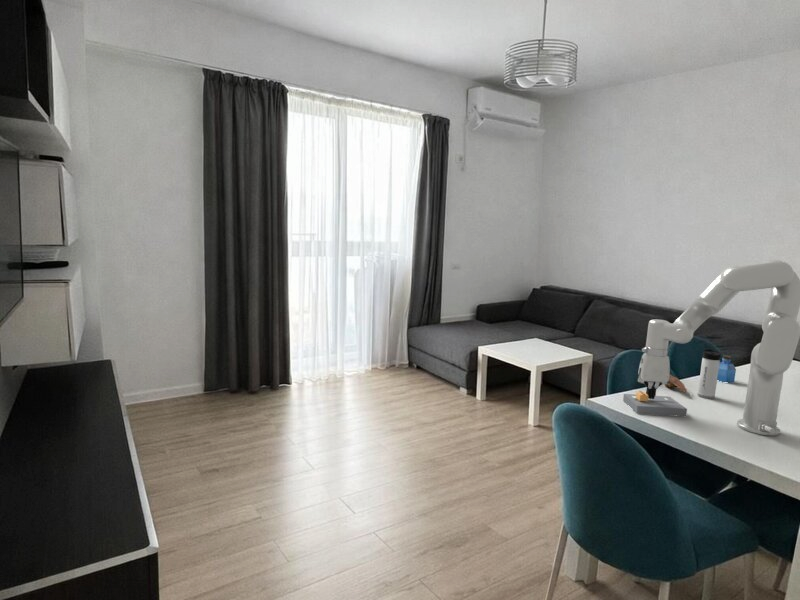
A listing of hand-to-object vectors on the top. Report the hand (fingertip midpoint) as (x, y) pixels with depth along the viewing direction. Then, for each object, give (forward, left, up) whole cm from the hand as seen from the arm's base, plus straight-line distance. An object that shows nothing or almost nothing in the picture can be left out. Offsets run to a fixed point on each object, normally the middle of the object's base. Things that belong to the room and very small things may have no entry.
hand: (650, 397), depth 196 cm
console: (0, -2, -4) cm, 4 cm away
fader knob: (0, +3, -1) cm, 3 cm away
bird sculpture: (+29, -22, -5) cm, 36 cm away
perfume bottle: (+47, -54, -5) cm, 71 cm away
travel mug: (+20, -32, -4) cm, 38 cm away
